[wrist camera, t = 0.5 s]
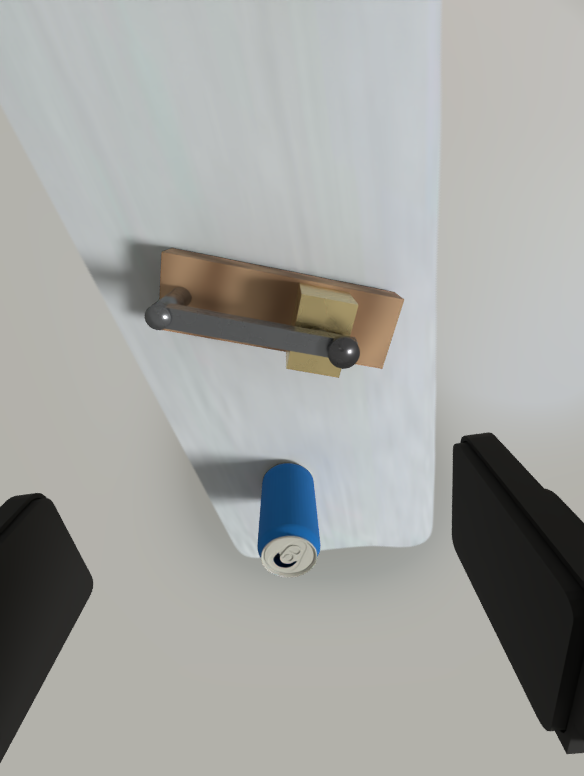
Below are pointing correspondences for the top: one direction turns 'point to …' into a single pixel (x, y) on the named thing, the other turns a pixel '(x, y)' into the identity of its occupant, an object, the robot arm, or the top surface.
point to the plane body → (275, 297)
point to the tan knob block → (321, 323)
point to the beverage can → (288, 521)
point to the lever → (249, 329)
